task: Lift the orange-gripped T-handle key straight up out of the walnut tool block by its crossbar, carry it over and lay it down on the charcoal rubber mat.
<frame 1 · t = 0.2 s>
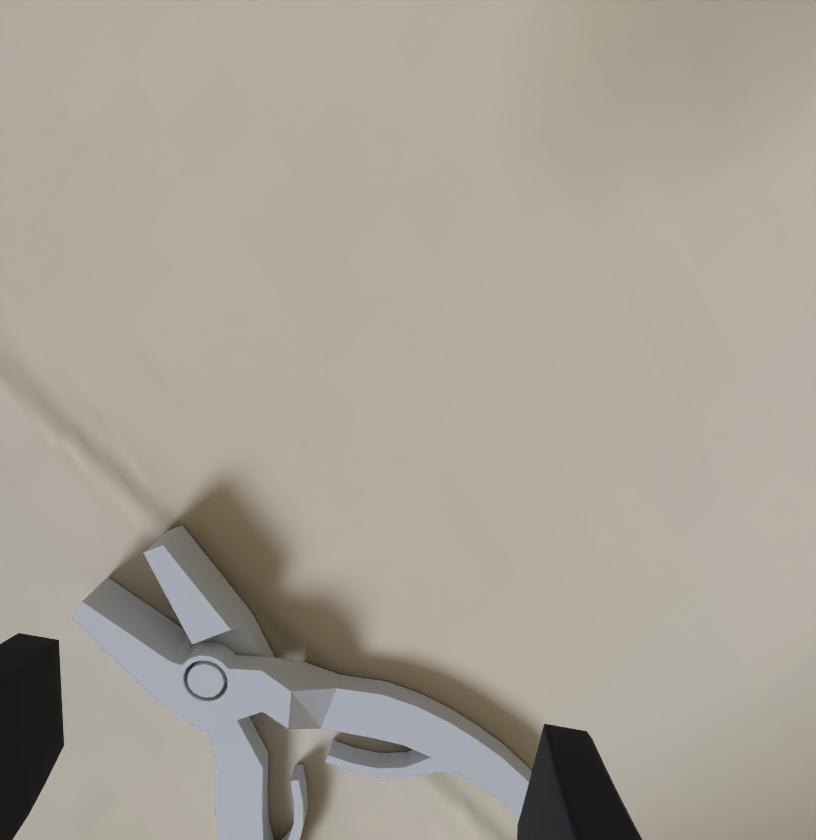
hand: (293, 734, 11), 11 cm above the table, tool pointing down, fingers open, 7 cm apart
pliers: (303, 736, 24), on the table
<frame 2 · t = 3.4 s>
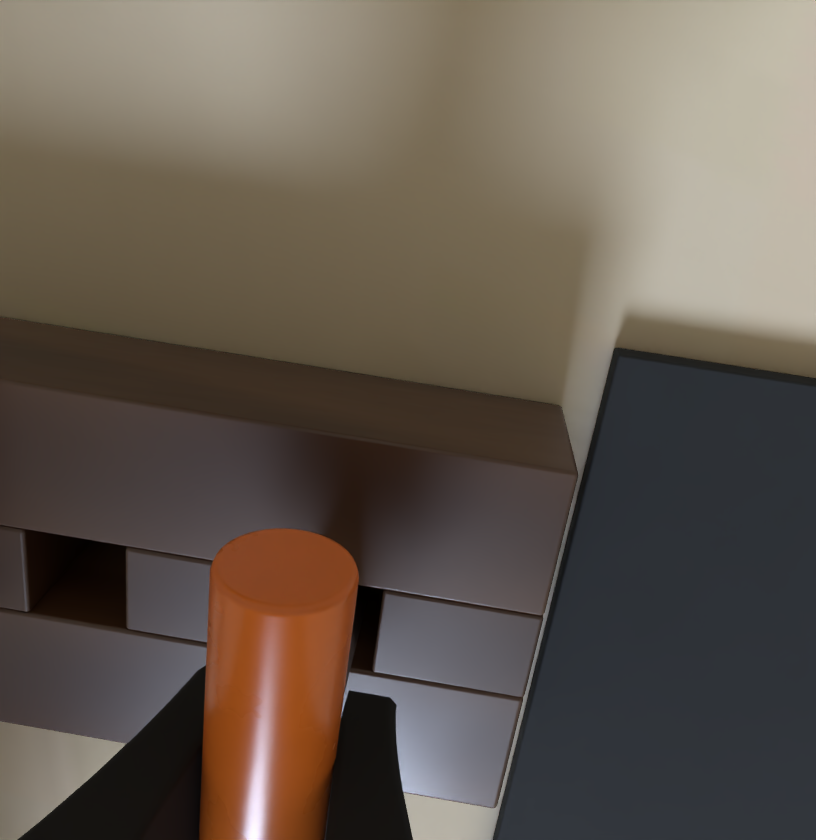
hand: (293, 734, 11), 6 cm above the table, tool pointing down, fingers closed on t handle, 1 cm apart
rack: (142, 502, 17), on the table
t handle: (353, 537, 17), resting in rack, touching gripper
mat: (748, 789, 18), on the table
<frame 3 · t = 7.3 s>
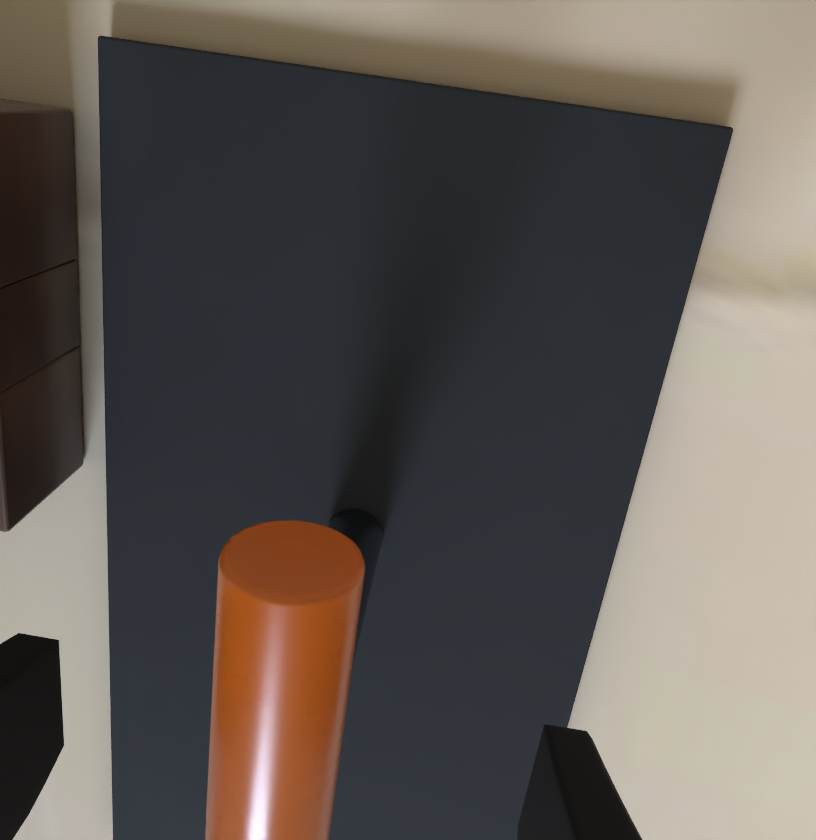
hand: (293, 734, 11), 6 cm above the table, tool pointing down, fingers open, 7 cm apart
t handle: (355, 532, 17), resting on mat
mat: (353, 560, 18), on the table
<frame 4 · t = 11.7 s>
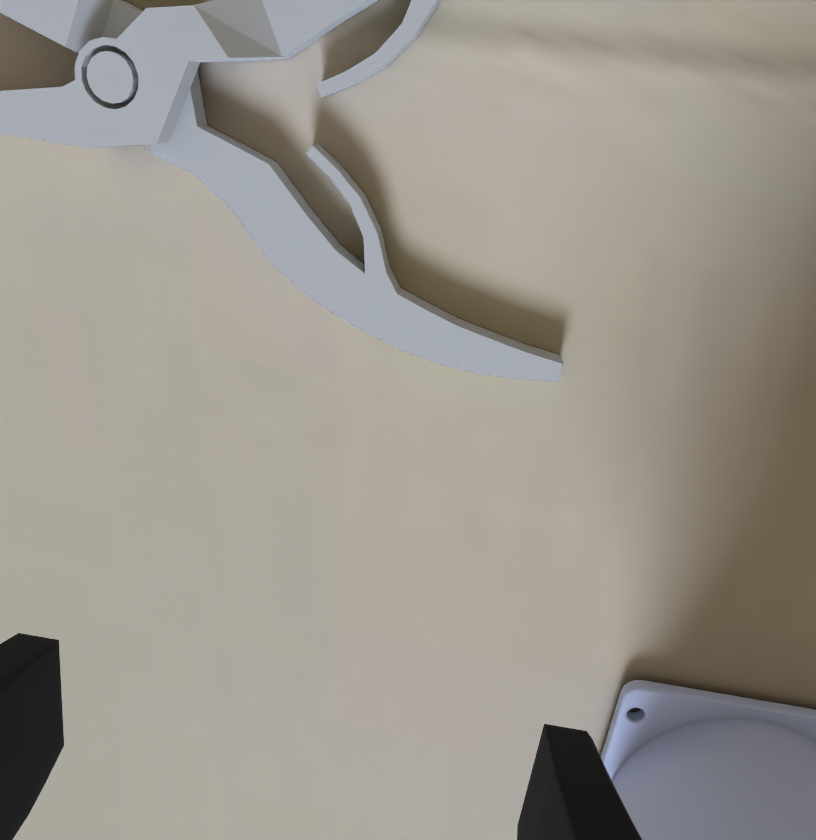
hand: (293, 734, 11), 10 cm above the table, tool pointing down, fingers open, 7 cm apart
pliers: (296, 114, 18), on the table
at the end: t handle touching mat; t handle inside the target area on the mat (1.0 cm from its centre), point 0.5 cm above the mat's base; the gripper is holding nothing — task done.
